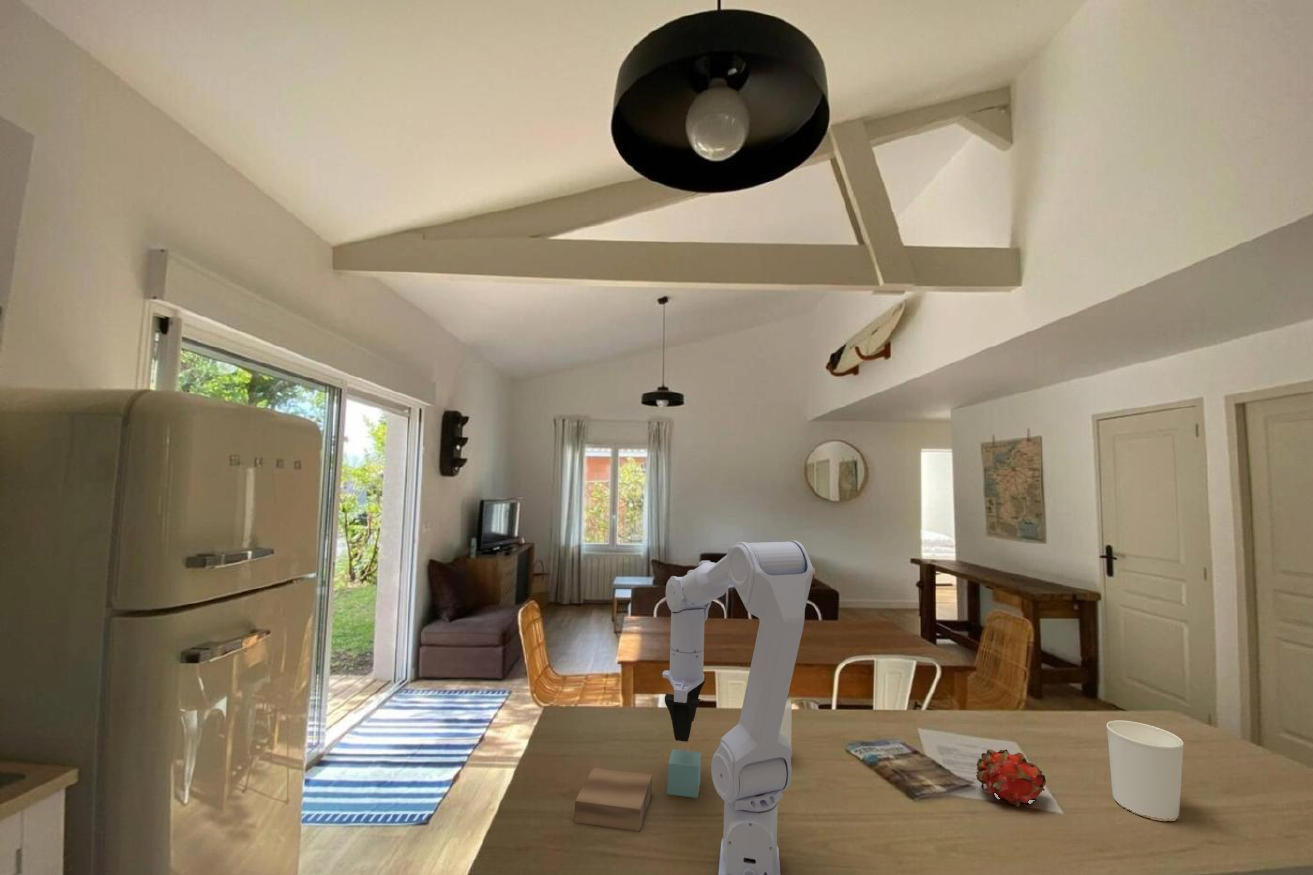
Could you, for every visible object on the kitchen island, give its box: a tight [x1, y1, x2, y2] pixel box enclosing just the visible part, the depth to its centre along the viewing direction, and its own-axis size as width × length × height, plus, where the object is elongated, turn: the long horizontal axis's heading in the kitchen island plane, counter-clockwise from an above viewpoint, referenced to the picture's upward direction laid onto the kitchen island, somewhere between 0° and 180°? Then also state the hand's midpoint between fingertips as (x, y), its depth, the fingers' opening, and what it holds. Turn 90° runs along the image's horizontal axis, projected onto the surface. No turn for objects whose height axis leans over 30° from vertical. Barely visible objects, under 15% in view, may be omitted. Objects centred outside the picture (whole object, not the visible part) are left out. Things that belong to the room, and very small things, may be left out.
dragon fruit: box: [975, 748, 1047, 808], centre depth 97 cm, size 8×8×12 cm
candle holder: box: [1106, 719, 1185, 819], centre depth 96 cm, size 10×10×12 cm
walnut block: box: [573, 766, 653, 832], centre depth 91 cm, size 10×10×4 cm
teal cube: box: [666, 748, 702, 799], centre depth 98 cm, size 5×5×5 cm
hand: (684, 729), depth 98 cm, fingers open, 7 cm apart
